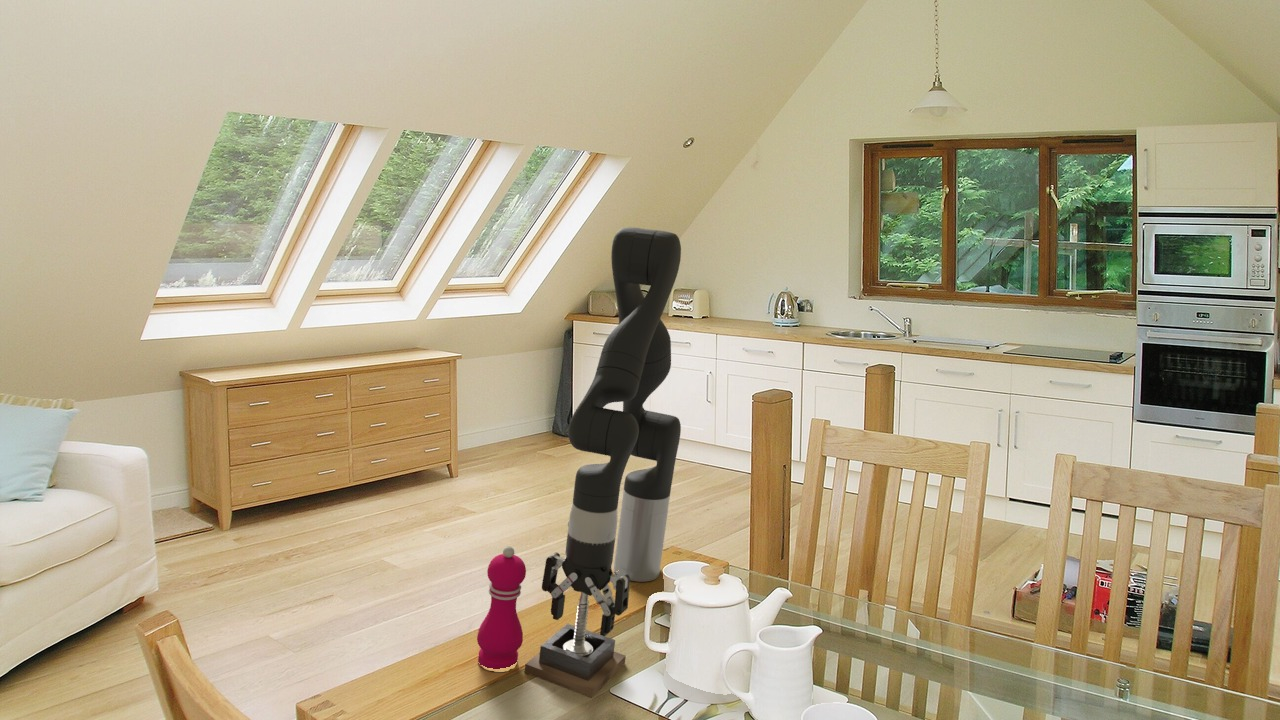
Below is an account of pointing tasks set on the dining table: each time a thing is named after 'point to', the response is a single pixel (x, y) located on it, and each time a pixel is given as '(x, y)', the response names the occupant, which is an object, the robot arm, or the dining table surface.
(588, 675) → the socket
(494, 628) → the pepper mill
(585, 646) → the screw
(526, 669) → the walnut board
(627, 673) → the dining table surface
